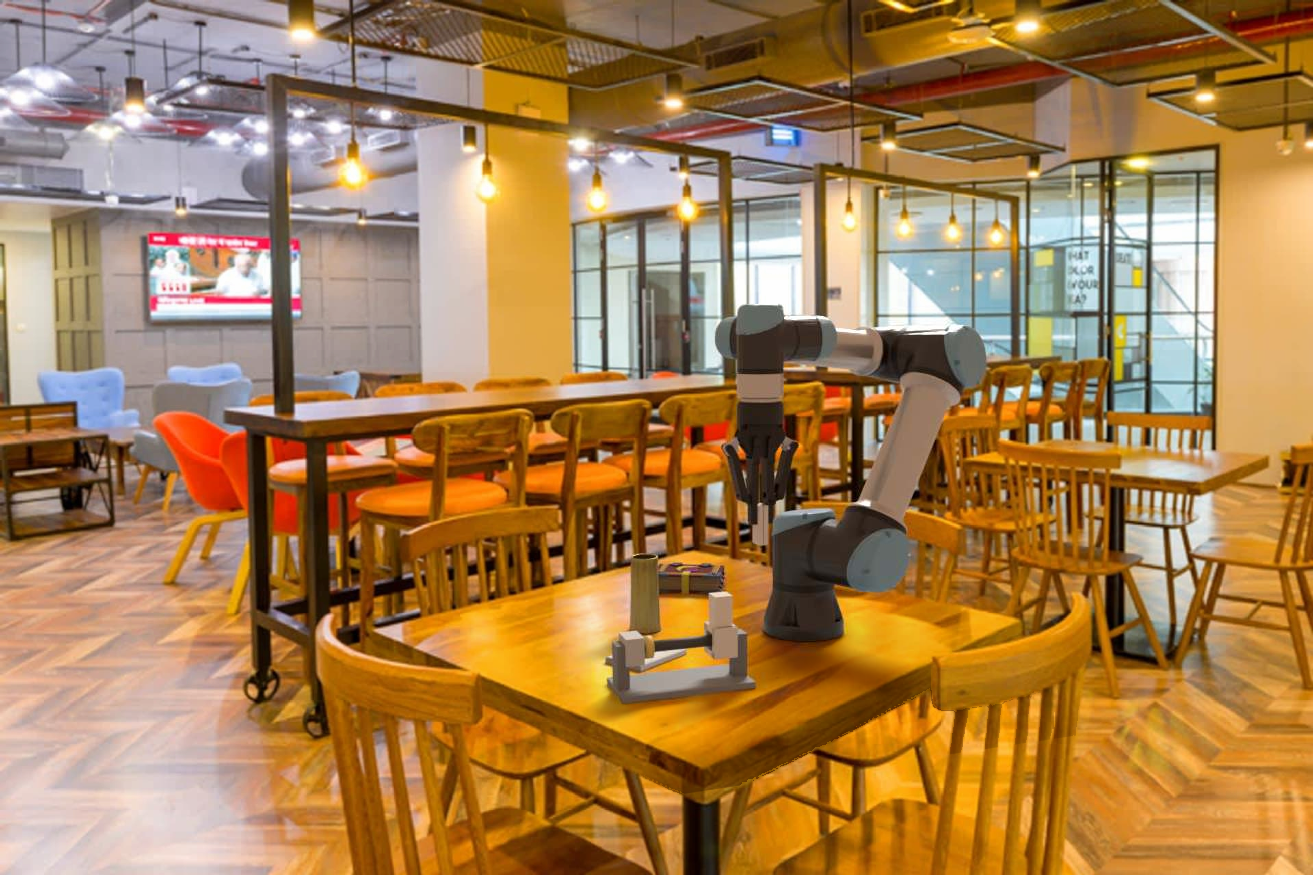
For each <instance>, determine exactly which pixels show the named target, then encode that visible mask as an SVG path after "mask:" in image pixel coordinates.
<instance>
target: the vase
mask: <svg viewBox="0 0 1313 875" xmlns="http://www.w3.org/2000/svg"><path fill="white" fill-rule="evenodd" d="M658 566H659V556H658V555H657V554H653V553H636V554H632V555H631V556H630V603H629V604H630V611H629V617H630V618H629V631H637V632H638V633H639V634H641V635H643V634H654V633H657V632H659V631H661V630H662V625H661V610H660V593H659V579H658Z"/></svg>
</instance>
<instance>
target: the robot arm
mask: <svg viewBox="0 0 1313 875" xmlns="http://www.w3.org/2000/svg"><path fill="white" fill-rule="evenodd" d="M714 334H715V335H714V345H715V347H716V350H717V351H718V353H719V354H720V355H721V356H722V357H724V358H727V359H730V360H732V359H733V360H736V397H737V398H738V399H740V400H739V401H738V402H737V403H736V425H737V426H736V430H735V433H734V436H733V437H734V438H732V439H731V440H730V441H728V442H727V443H722V444H721V446H720V448H721V450H722V452H723V454H724V455H725V457H726V458H727V463H728V467H729V472H730V476H731V482H732V485H733V490H734V494H735V498H736V499H737V500H738V501H740V502H742V503H744V504H746V506H747V522H748V524H749V525H751V526H752V543H753V544H755V545H757V546H759V547H761V546H769V525H771V524H772V531H771V560H772V562H771V564H772V566H771V567H772V573H771V574H772V589H771V590H772V591H771V594H770V597H769V600H768V603H767V605H766V609H765V612H764V615H763V620H762V622H763V624H762V626H763V627H762V628H763V629H762V630H763V632H765V634H767V635H769V636H771V637H773V638H777V639H782V640H787V641H794V642H818V641H819V642H820V641H826V640H832V639H835V638H838V637H840V636H842V635H843V633H844V632H845V630H844V628H845V626H844V624H845V623H844V617H843V614H842V611H841V608H840V604H839V601H838V598H837V594H836V591H835V589H836V588H835V585H836V586H840V587H843V588H844V587H845V588H849V589H852V590H853V589H854V590H855V591H857V592H863V593H874V594H880V593H885V592H887V591H889V590H891V589H894V588H895V587H896V586H897V585H898V584H899V583H900V582H902V580H903V578H904V577H905V575H906V574H907V571H908V569H909V566H910V562H911V559H912V556H911V554H910V552H911V551H912V549H911V548H912V547H911V543H910V542H911V541H909V538H908V537H907V533H908V527H907V525H906V523H905V520H904V517H905V516H906V514H907V513H906V512H907V510H908V507H909V506H910V503H911V500H912V498H913V495H914V493H915V490H916V487H917V486H918V482H919V480H920V478H921V476H922V473H923V470H924V467H925V466H926V463H927V461H928V458H929V455H930V453H931V450H932V448H933V445H934V443H935V441H936V438H937V435H938V433H939V431H940V428H941V426H942V423H943V421H944V418H945V416H946V414H947V411H948V408H949V407H953V406H956V405H958V404H959V403H960V402H961V398H962V396H963V394H964V391H965V389H972V388H976V387H977V386H979V385H980V384H981V382H983V379H984V378H985V375H986V370H987V363H988V362H987V352H986V346H985V342H984V341H983V338H982V337H981V335H980V334H979V332H978V331H977V330H976V329H974V327H972V326H970V325H965V324H964V325H963V324H956V323H948V324H900V325H899V324H898V325H890V326H875V327H873V326H872V327H871V326H859V327H857V328H855V329H848V328H839V327H836V326H835V324H834V323H833V321H832V320H831V319H830V318H828V317H827V316H826V317H825V316H824V315H823V316H822V315H815V314H809V315H785V312H784V306H783V305H782V304H780V303H748V304H747V303H745V304H742V305H740V306H739V307H738V308H737V314H736V316H730V317H729V316H728V317H726V318H724V319H722V320H721V321H720V322H719V323H718V325H717V326H716V329H715V332H714ZM785 364H794V365H802V366H812V367H821V368H822V367H823V368H831V369H833V368H834V369H842V370H848V371H850V372H851V374H854V375H855V376H860V377H867V378H872V379H877V380H882V381H886V382H890V383H894V384H900V385H901V387H902V389H903V392H902V395H901V397H900V400H899V402H898V405H897V406H896V409H895V412H894V414H893V417H892V419H891V421H890V424H889V426H888V429H887V431H886V433H885V436H884V439H883V440H882V443H881V445H880V448H879V450H878V453H877V454H876V457H875V460H874V462H873V465H872V467H871V469H870V471H869V474H868V476H867V478H866V481H865V484H864V486H863V489H862V491H861V493H860V496H859V498H858V500H857V501H856V502H851V503H849V504H848V505H846V507H845V510H844V512H843V514H842V517H841V519H839V520H838V519H836V518H837V515H836V513H835V510H834V509H832V508H822V507H821V508H820V507H819V508H806V509H797V510H789V511H784V512H780V513H778V514H776V515H775V517H774V506H775V505H777V502H778V501H782V500H784V499H785V495H786V490H787V486H788V482H789V477H790V472H791V468H792V464H793V463H792V462H793V459H794V455H795V454H796V452H797V450H798V448H799V446H800V444H799V442H798V441H795V440H792V439H791V438H790V437H787V434H786V431H785V428H784V418H785V417H784V414H785V413H784V403H783V401H782V400H781V399H782V398H783V397H784V389H785V388H784V371H785V370H784V365H785ZM739 447H740V449H741V450H742V452H743V453H744V454H745V463H746V470H745V471H746V472H745V473H746V482H745V476H744V472H743V468H742V462H741V460H740V459H741V458H740V457H739V456H740V455H739V454H738V453H739V451H740V449H739ZM780 448H781V452H780V453H779V454H780V455H779V458H778V463H777V468H776V473H775V463H776V453H777V452H778V450H779V449H780ZM760 464H761V465H760ZM760 466H761V471H760ZM760 473H761V501H762V502H760V500H759V499H760Z"/></svg>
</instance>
